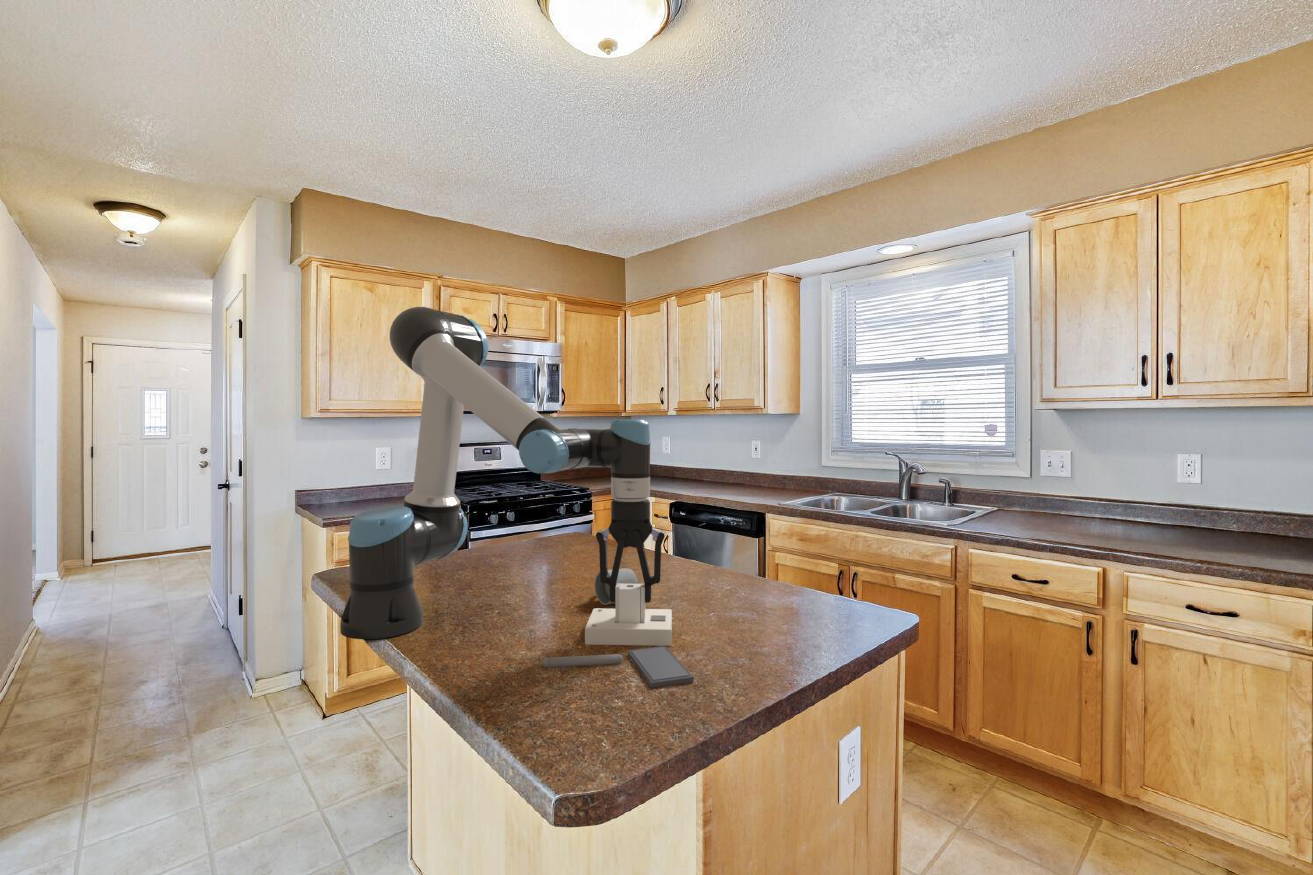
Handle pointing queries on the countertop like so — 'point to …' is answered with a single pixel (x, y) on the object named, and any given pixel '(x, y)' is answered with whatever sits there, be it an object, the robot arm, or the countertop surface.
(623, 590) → the charger block
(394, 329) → the robot arm
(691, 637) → the countertop surface
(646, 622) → the outlet plate
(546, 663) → the grey rod
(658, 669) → the phone slab
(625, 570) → the ceramic mug
